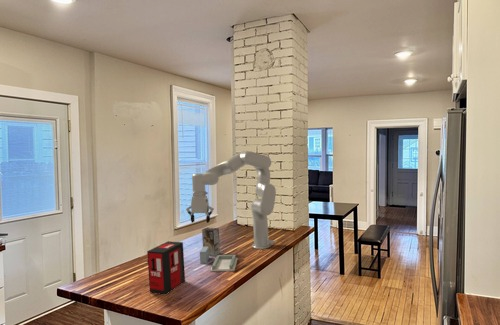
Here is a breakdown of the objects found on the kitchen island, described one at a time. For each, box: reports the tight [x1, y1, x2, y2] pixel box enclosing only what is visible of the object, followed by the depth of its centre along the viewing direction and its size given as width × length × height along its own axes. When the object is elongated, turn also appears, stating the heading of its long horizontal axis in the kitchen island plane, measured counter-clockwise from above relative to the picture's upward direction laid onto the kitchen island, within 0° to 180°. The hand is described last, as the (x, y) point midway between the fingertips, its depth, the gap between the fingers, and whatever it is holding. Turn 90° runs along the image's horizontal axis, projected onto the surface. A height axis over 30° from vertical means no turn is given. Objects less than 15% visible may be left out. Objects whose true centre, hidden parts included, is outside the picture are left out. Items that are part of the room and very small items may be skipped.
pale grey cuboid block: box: [199, 246, 210, 265], centre depth 203 cm, size 4×10×7 cm, turn 176°
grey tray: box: [210, 254, 239, 272], centre depth 193 cm, size 13×18×3 cm
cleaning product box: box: [146, 240, 186, 295], centre depth 166 cm, size 16×9×20 cm, turn 159°
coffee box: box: [201, 227, 221, 257], centre depth 214 cm, size 9×6×16 cm
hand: (200, 222), depth 206 cm, fingers open, 9 cm apart
